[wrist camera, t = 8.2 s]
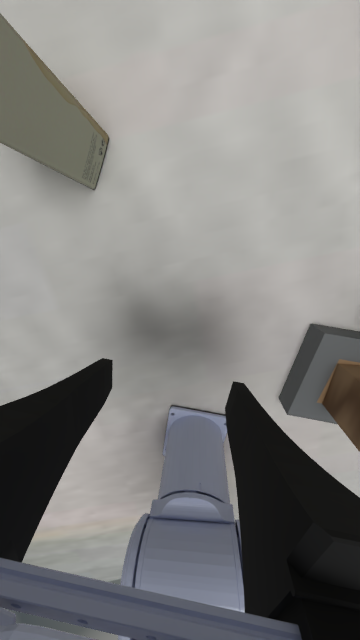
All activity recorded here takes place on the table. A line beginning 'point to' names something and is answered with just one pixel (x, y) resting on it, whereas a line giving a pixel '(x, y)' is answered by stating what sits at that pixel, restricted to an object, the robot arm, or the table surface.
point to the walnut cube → (345, 400)
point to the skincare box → (45, 114)
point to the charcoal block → (318, 370)
